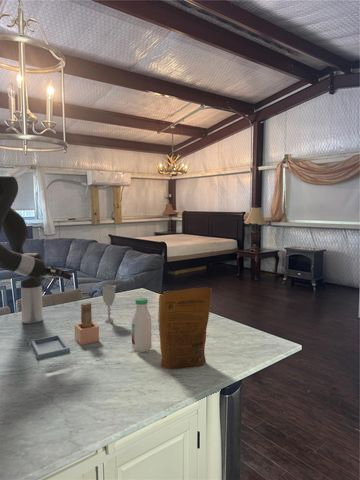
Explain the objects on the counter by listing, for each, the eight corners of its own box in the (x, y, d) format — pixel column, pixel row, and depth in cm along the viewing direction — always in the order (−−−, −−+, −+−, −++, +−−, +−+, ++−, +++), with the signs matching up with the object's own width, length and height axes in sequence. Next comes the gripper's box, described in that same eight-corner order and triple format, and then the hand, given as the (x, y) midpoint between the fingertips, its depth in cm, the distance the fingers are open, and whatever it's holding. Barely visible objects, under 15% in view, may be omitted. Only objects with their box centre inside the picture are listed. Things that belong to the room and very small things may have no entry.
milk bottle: (154, 346, 131) (154, 297, 129) (146, 354, 124) (146, 302, 122) (137, 343, 134) (137, 295, 132) (128, 351, 127) (127, 300, 125)
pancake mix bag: (213, 368, 113) (214, 288, 111) (158, 373, 110) (158, 291, 107) (207, 359, 120) (209, 284, 118) (156, 363, 116) (156, 286, 114)
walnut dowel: (80, 339, 135) (79, 303, 134) (90, 337, 138) (89, 302, 136) (83, 342, 132) (82, 305, 131) (93, 340, 134) (92, 304, 133)
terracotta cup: (74, 340, 136) (74, 324, 135) (92, 337, 140) (92, 321, 140) (80, 347, 130) (80, 330, 129) (99, 343, 134) (98, 326, 133)
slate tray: (30, 346, 130) (30, 339, 130) (59, 340, 137) (59, 334, 136) (38, 361, 117) (38, 354, 117) (70, 354, 123) (69, 347, 123)
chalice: (112, 326, 153) (112, 288, 151) (99, 325, 154) (98, 288, 153) (118, 321, 160) (118, 285, 158) (105, 320, 161) (105, 284, 160)
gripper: (40, 255, 121) (77, 268, 132) (22, 257, 129) (58, 269, 141) (34, 275, 118) (72, 286, 130) (16, 275, 127) (53, 286, 139)
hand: (64, 277), depth 135 cm, fingers open, 8 cm apart
